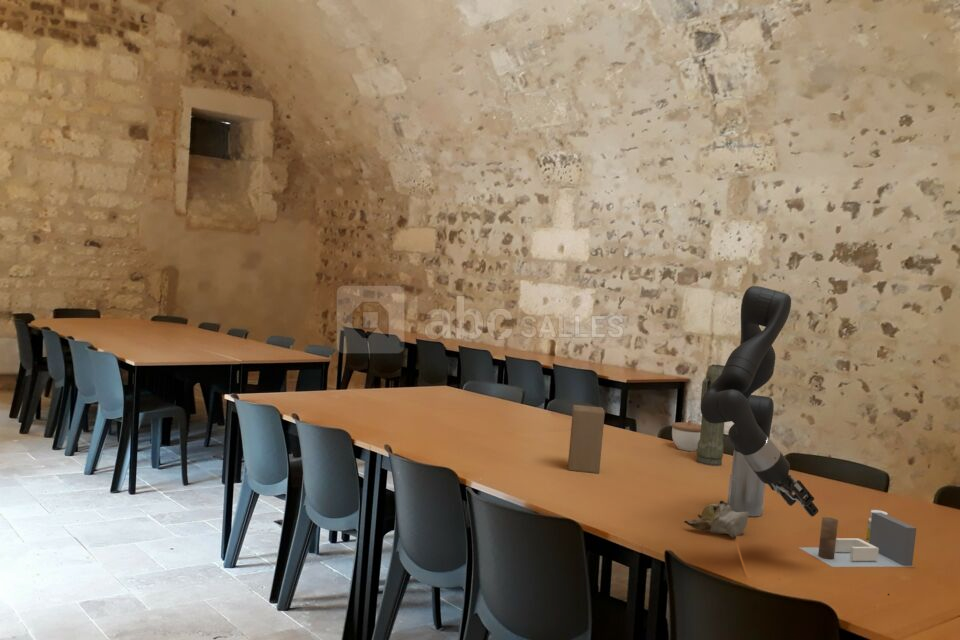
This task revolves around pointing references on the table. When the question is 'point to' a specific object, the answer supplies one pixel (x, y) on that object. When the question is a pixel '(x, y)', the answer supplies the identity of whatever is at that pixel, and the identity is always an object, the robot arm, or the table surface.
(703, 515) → the ceramic sculpture
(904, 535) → the board with wall
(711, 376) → the olive green tall piece
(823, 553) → the dowel
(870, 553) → the cradle
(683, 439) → the lidded bowl
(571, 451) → the wooden block
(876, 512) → the supplement bottle
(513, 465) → the table surface
